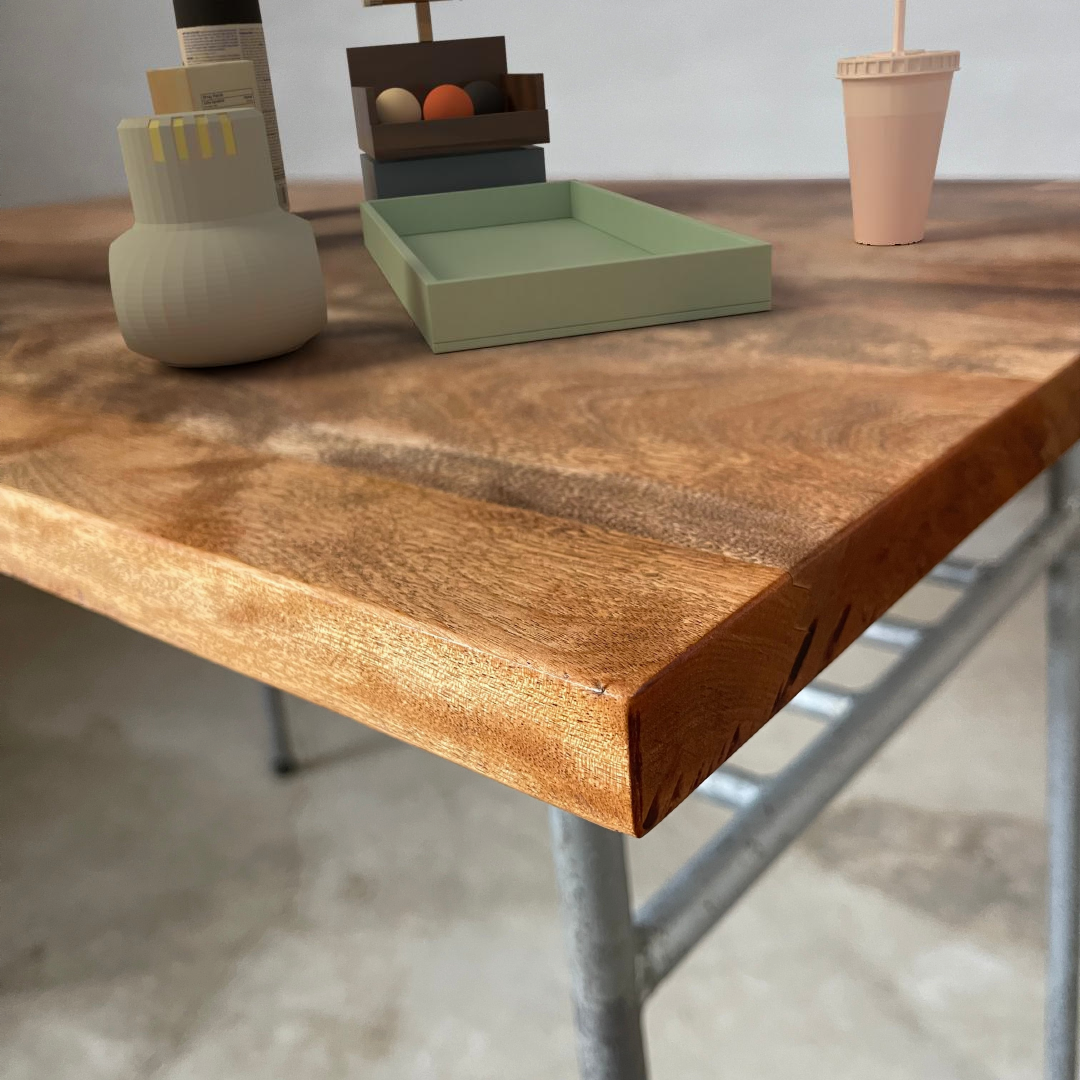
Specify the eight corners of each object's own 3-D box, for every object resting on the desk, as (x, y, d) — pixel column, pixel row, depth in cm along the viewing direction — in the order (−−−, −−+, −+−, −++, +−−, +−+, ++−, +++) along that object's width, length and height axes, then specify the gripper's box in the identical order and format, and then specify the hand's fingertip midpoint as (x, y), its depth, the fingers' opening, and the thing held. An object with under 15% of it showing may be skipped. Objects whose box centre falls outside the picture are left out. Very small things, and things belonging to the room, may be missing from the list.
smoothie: (945, 228, 65) (964, -40, 60) (951, 247, 60) (972, -46, 54) (832, 232, 67) (840, -28, 61) (828, 251, 62) (836, -33, 56)
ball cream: (366, 142, 84) (360, 91, 83) (405, 137, 86) (399, 87, 85) (395, 140, 82) (388, 88, 80) (433, 136, 84) (427, 85, 83)
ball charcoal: (450, 134, 85) (445, 83, 84) (485, 130, 88) (481, 80, 86) (480, 132, 83) (475, 80, 82) (516, 128, 85) (512, 77, 84)
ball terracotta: (416, 141, 81) (410, 87, 79) (455, 136, 83) (449, 84, 82) (447, 140, 78) (441, 84, 77) (486, 135, 80) (481, 81, 79)
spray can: (270, 212, 99) (228, -41, 91) (307, 216, 94) (266, -51, 86) (199, 223, 95) (149, -40, 87) (233, 228, 90) (184, -50, 82)
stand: (368, 219, 89) (359, 153, 87) (516, 203, 91) (511, 139, 89) (382, 237, 79) (373, 164, 77) (549, 219, 81) (544, 147, 79)
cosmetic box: (244, 239, 84) (213, 62, 79) (287, 240, 81) (258, 58, 77) (178, 255, 79) (141, 67, 74) (222, 256, 77) (187, 63, 72)
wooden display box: (358, 148, 87) (336, -15, 83) (510, 133, 90) (497, -26, 85) (375, 160, 75) (350, -31, 71) (550, 143, 77) (538, -43, 73)
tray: (364, 245, 77) (358, 201, 75) (577, 221, 79) (575, 179, 78) (433, 353, 47) (425, 284, 46) (771, 310, 50) (772, 243, 48)
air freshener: (339, 368, 46) (300, 107, 42) (129, 397, 44) (67, 128, 40) (317, 317, 55) (284, 102, 51) (145, 339, 54) (97, 118, 50)
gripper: (532, -210, 83) (545, -4, 89) (253, -200, 79) (285, 14, 85) (552, -231, 77) (565, -9, 83) (253, -221, 74) (287, 10, 79)
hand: (421, 3), depth 84 cm, fingers closed on wooden display box, 6 cm apart
